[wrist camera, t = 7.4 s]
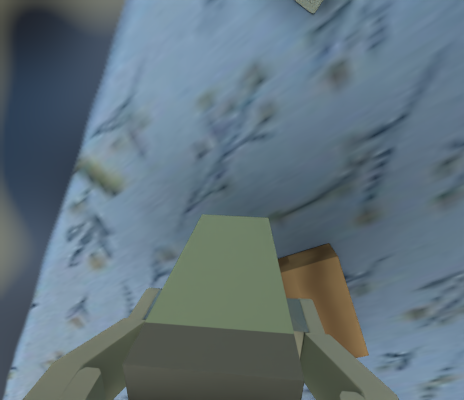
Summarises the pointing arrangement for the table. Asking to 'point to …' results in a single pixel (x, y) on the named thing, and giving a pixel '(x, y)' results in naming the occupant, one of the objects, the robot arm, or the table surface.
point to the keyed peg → (219, 322)
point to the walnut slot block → (324, 294)
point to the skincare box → (310, 4)
